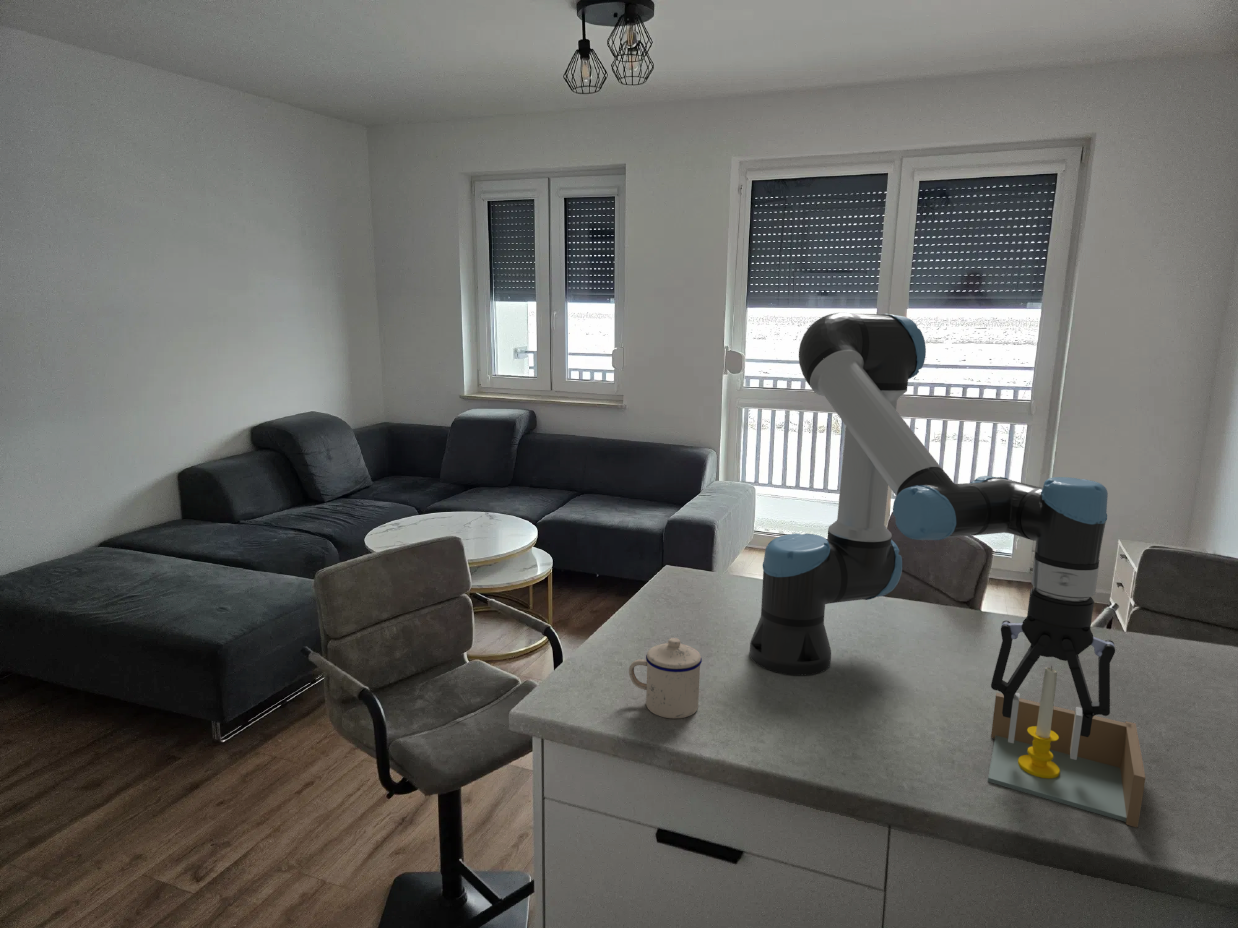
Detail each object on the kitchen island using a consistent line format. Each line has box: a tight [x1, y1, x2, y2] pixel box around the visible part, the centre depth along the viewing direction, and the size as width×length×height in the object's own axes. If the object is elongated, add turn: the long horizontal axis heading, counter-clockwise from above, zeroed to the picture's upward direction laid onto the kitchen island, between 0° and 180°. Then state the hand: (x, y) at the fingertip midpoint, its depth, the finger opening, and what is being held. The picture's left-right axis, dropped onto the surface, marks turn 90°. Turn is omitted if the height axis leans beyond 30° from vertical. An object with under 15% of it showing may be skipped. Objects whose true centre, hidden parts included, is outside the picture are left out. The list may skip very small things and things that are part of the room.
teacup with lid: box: [628, 637, 703, 719], centre depth 121 cm, size 12×9×12 cm
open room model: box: [987, 692, 1146, 828], centre depth 104 cm, size 18×15×7 cm
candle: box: [1018, 665, 1060, 779], centre depth 104 cm, size 5×5×16 cm
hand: (1041, 745), depth 104 cm, fingers open, 7 cm apart
